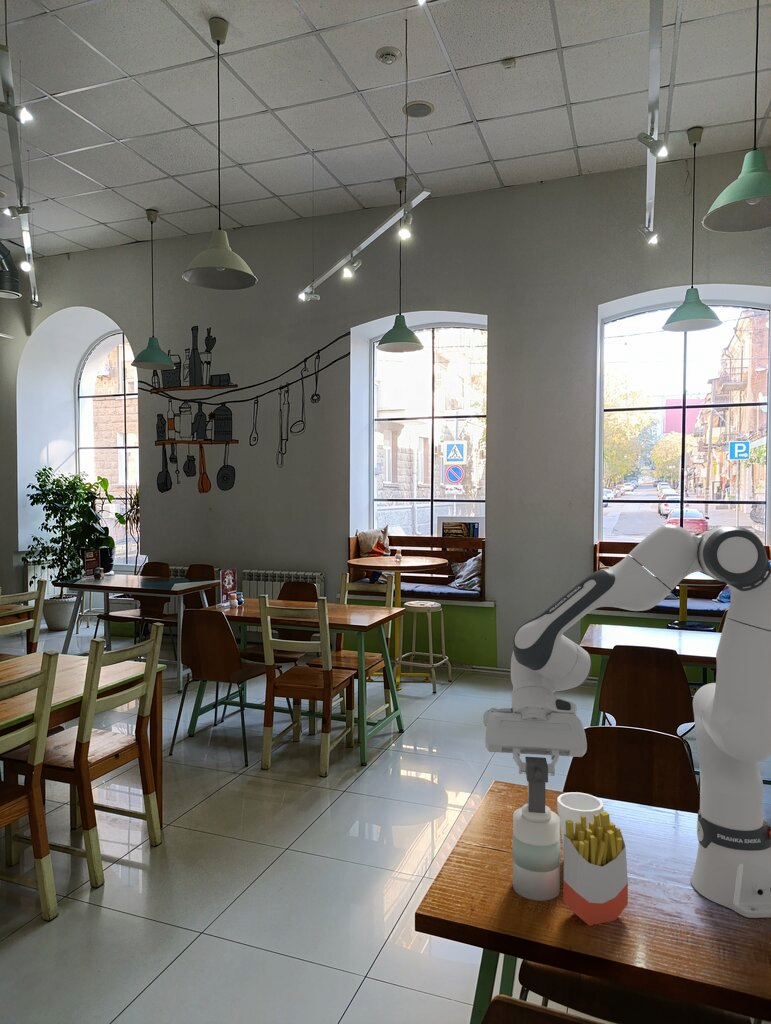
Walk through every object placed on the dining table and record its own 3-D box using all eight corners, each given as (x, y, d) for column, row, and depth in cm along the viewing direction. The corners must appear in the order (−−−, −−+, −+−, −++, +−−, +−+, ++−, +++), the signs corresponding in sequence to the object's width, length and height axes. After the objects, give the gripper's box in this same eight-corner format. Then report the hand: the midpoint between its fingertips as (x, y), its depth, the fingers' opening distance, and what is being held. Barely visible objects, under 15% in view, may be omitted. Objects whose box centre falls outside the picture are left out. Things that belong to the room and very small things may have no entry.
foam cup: (605, 877, 135) (605, 813, 135) (558, 872, 137) (558, 809, 137) (600, 853, 145) (600, 794, 145) (556, 849, 146) (556, 790, 146)
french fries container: (629, 919, 121) (629, 820, 121) (577, 929, 118) (577, 828, 118) (613, 905, 126) (613, 809, 126) (563, 914, 123) (563, 817, 123)
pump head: (545, 803, 134) (545, 757, 134) (550, 824, 125) (550, 775, 125) (525, 802, 134) (525, 756, 134) (528, 822, 125) (528, 773, 125)
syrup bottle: (557, 876, 135) (557, 771, 135) (562, 903, 126) (563, 789, 126) (511, 873, 137) (511, 768, 137) (513, 898, 128) (513, 786, 128)
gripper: (483, 699, 140) (483, 763, 130) (583, 704, 137) (591, 769, 127) (483, 714, 144) (483, 777, 135) (580, 719, 141) (587, 783, 132)
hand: (536, 773), depth 131 cm, fingers closed on pump head, 4 cm apart
